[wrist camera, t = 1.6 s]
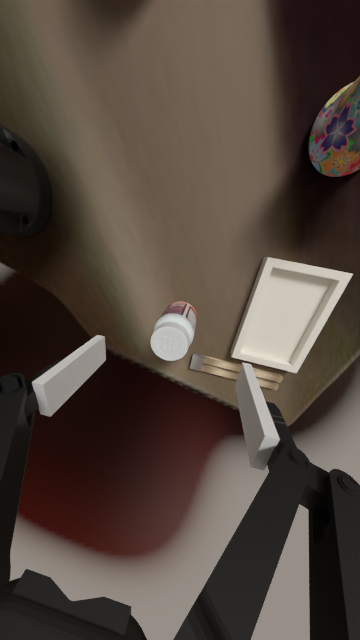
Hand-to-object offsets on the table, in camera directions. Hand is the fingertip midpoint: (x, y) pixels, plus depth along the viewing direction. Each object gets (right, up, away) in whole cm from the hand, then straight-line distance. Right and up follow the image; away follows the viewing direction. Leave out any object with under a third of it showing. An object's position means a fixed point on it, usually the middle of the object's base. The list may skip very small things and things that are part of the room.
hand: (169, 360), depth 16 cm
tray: (+18, +4, +14) cm, 24 cm away
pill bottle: (+1, +5, +17) cm, 18 cm away
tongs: (+12, -6, +19) cm, 24 cm away
